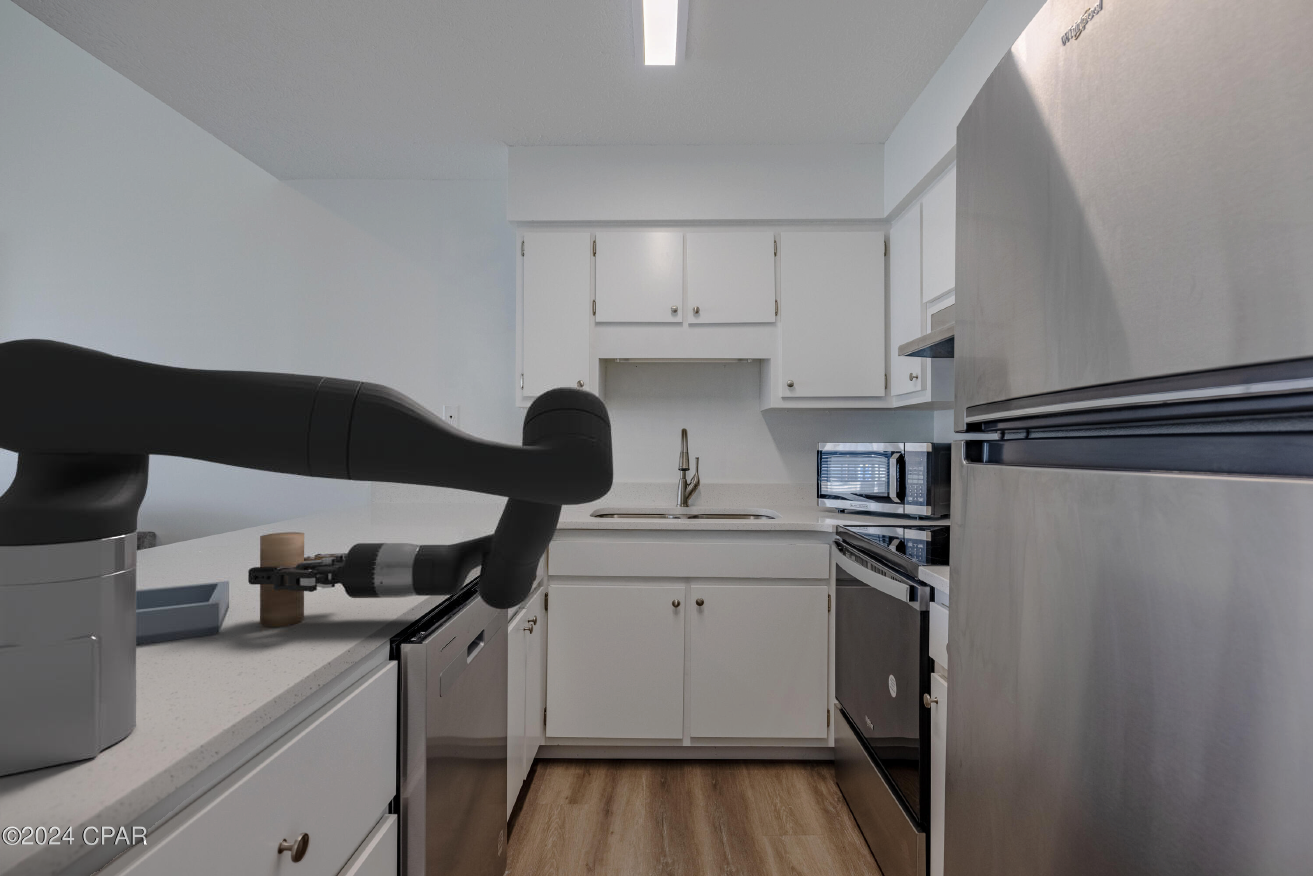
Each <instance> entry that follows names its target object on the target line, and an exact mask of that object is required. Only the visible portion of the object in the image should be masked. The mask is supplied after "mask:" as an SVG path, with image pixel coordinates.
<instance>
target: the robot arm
mask: <svg viewBox="0 0 1313 876" xmlns="http://www.w3.org/2000/svg"><path fill="white" fill-rule="evenodd" d="M612 436H613V435H612V424H611V419H610V416H609V412H608V408H607V407H606V406H605V403H604V402H603V400H602V399H601V398H600V397H599V396H597V395H596V394H595V393H593V392H591V391H590V390H587V389H585V388H580V387H575V386H560V387H556V388H552V389H548V390H547V391H545V392H543V393H542V394H540V395H538V396H537V397H536V398H535V399H534V400H533V401H532V402H531V404H530V405H529V407H528V408H527V411H526V413H525V417H524V420H523V424H522V438H521V439H522V440H521V441H522V442H521V445H518V444H509V443H504V442H499V441H494V440H488V439H484V438H481V437H478V436H475V435H472V434H470V433H467V432H466V431H463V430H461V429H458V428H456V427H455V426H453V425H452V424H450V423H449V422H447V421H446V420H444V419H443V418H441V417H440V416H438V414H435V413H434V412H433V411H431V410H429V409H428V408H426V407H425V406H424V405H422V404H420V403H419V402H418V401H416V400H414V399H413V398H411V397H409V396H408V395H406V394H404V393H403V392H401V391H398V390H397V389H395V388H393V387H390V386H387V385H384V384H381V383H380V384H379V383H373V382H370V381H362V380H361V381H360V380H354V379H353V380H352V379H345V378H339V377H332V376H331V377H329V376H324V375H323V376H321V375H310V374H307V375H306V374H296V373H289V372H288V373H287V372H271V371H268V372H267V371H258V370H257V371H254V370H233V369H231V370H229V369H228V370H226V369H225V370H224V369H222V370H221V369H202V368H201V369H200V368H199V369H197V368H188V367H187V368H186V367H178V366H170V365H165V364H159V363H153V362H147V361H143V360H137V359H132V358H127V357H122V356H117V355H112V354H110V353H106V352H103V351H101V350H97V349H92V348H89V347H88V348H87V347H83V346H80V345H75V344H71V343H67V342H64V341H58V340H54V339H53V340H52V339H47V338H46V339H43V338H27V339H26V338H24V339H14V340H9V341H5V342H0V449H2V450H7V451H9V452H13V453H16V454H17V462H16V469H15V471H16V472H15V475H14V478H13V480H12V482H11V483H10V486H9V487H8V488H7V489H6V491H5V492H3V493H2V495H1V496H0V777H1V776H6V775H10V774H16V773H21V772H26V771H32V770H36V769H41V768H45V767H50V766H51V767H52V766H56V765H61V764H62V765H63V764H67V763H71V762H77V761H81V760H85V759H90V758H95V757H97V756H98V755H99V754H100V752H101V751H103V750H104V749H106V748H108V747H110V746H112V745H115V744H116V743H118V742H120V741H121V740H123V739H124V738H126V737H127V736H129V735H130V734H131V733H132V732H133V731H134V729H135V728H136V726H137V645H136V590H138V589H137V568H138V567H137V566H138V565H137V564H138V516H139V515H138V514H139V511H140V508H141V506H142V503H143V502H144V499H145V498H146V493H147V490H148V484H149V471H150V469H149V467H150V455H151V456H152V455H153V456H154V455H155V456H164V457H165V456H166V457H177V458H185V459H191V460H198V461H203V462H207V463H214V464H220V465H225V466H230V467H231V466H232V467H236V468H242V469H249V470H256V471H261V472H262V471H263V472H272V473H277V474H286V475H294V476H303V477H309V478H321V479H332V480H333V479H334V480H343V481H344V480H346V481H357V482H373V483H374V482H377V483H392V484H393V483H394V484H404V485H405V484H406V485H416V486H417V485H418V486H425V487H436V488H446V489H454V490H460V491H466V492H467V491H468V492H473V493H480V494H486V495H492V496H498V497H505V498H507V500H506V503H505V506H504V508H503V511H502V514H501V515H500V518H499V519H498V523H497V525H496V528H495V529H494V532H493V533H492V534H491V533H490V534H487V535H483V536H480V537H477V538H473V539H469V540H468V539H467V540H464V541H460V542H456V543H452V544H418V543H417V544H415V543H408V542H370V543H369V542H365V543H364V542H362V543H361V542H358V543H355V544H354V545H352V546H351V547H350V549H349V550H348V551H347V553H346V552H343V553H317V554H314V556H311V555H306V556H304V561H301V562H299V563H298V564H297V565H296V566H280V567H260V566H254V567H251V568H249V569H248V571H247V573H248V584H249V585H257V586H258V585H259V586H260V585H263V584H274V590H290V591H304V592H310V593H312V592H315V591H317V590H318V588H321V589H331V588H335V587H336V585H338V584H340V585H341V586H342V587H343V588H344V592H345V594H346V595H347V596H348V597H350V598H351V599H401V598H402V599H404V598H410V597H418V596H419V597H422V596H423V597H428V596H431V597H433V596H437V597H438V596H442V597H443V596H454V595H456V594H458V593H460V591H462V588H463V586H464V585H465V583H466V581H467V580H468V579H467V578H468V577H469V575H470V573H472V571H473V570H475V569H477V568H479V567H480V572H479V578H478V583H477V591H478V595H479V597H480V599H481V600H482V602H483V603H485V605H487V606H488V607H491V608H493V609H496V610H508V609H513V608H516V607H518V606H519V605H521V604H522V603H523V602H525V600H526V599H528V597H529V595H530V593H531V591H532V589H533V586H534V582H535V580H536V576H537V572H538V568H539V564H540V563H541V558H543V555H544V554H545V552H546V551H547V549H548V548H549V545H550V544H551V542H552V540H553V538H554V536H555V533H556V530H557V528H558V524H559V520H560V517H561V512H562V509H563V508H562V507H563V506H573V505H574V506H575V505H576V506H577V505H583V504H588V503H589V504H590V503H593V502H596V501H598V500H600V499H602V498H603V497H605V496H606V495H607V494H608V493H609V492H610V491H611V489H612V486H613V484H614V457H613V441H612V440H613V439H612V438H613V437H612ZM287 576H288V577H289V580H288V581H287Z"/></svg>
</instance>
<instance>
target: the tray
mask: <svg viewBox="0 0 1313 876" xmlns="http://www.w3.org/2000/svg"><path fill="white" fill-rule="evenodd" d="M229 609H230V580H223V581H214V582H204V583H193V584H184V585H183V584H182V585H172V586H162V587H150V588H142V589H136V646H137V645H143V644H144V645H145V644H151V643H158V642H165V641H167V642H168V641H173V640H174V641H175V640H180V639H181V640H182V639H189V638H190V639H191V638H196V637H197V638H198V637H203V636H211V635H219V634H220V631H221V629H222V626H223V624H224V621H225V619H226V616H227V614H228V612H229Z"/></svg>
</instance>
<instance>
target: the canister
mask: <svg viewBox="0 0 1313 876" xmlns="http://www.w3.org/2000/svg"><path fill="white" fill-rule="evenodd" d="M259 541H260V542H259V565H260V566H259V567H280V566H296V565H297V564H298V563H299V562H301V561H304V557H305V533H304V532H300V531H299V532H298V531H297V532H296V531H292V532H291V531H289V532H288V531H287V532H275V533H273V532H272V533H267V534H263V535H260V538H259ZM288 580H289V577H288V576H287V581H288ZM303 621H305V591H290V590H274V584H263V585H259V626H260V627H263V628H280V627H287V626H292V625H295V624H299V623H302V622H303Z"/></svg>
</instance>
